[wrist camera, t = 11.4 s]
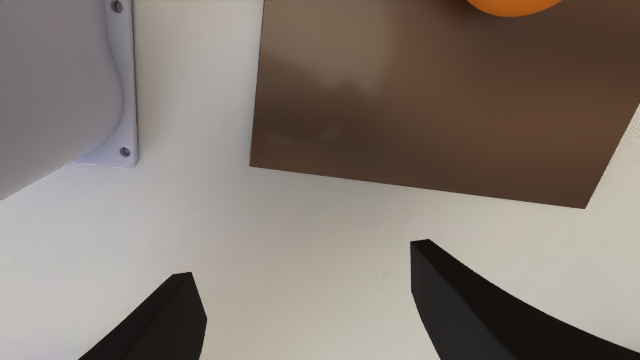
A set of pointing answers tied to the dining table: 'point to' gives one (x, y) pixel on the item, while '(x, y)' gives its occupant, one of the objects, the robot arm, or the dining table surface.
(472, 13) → the front mat
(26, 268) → the dining table surface
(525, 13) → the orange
